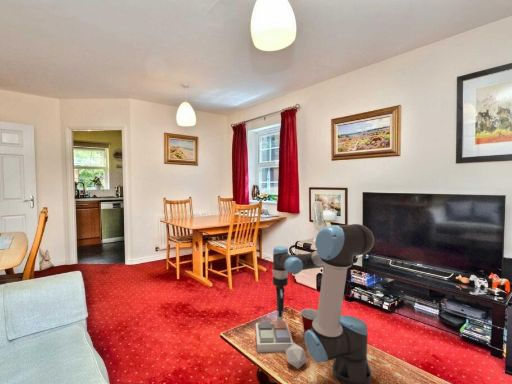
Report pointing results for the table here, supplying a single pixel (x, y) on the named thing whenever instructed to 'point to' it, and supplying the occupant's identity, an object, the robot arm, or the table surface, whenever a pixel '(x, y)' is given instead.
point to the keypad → (272, 346)
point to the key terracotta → (279, 325)
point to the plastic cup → (308, 318)
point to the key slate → (282, 336)
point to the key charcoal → (265, 325)
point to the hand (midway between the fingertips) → (279, 321)
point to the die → (296, 355)
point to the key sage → (266, 336)
